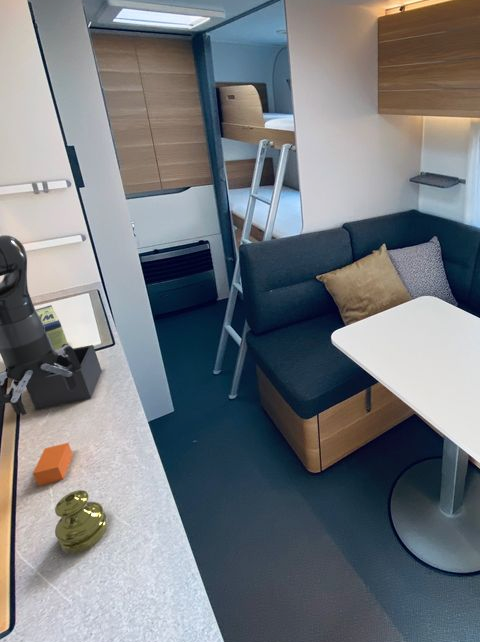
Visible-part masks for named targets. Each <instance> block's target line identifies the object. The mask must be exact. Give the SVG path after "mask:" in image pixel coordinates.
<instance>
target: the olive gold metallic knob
mask: <svg viewBox="0 0 480 642" xmlns="http://www.w3.org/2000/svg"><path fill="white" fill-rule="evenodd" d="M54 513H55V515H56V516H58V517H60V519H59V520H58V521H57V524H56V525H55V528H54V535H55V538H56V540H58V544H59V545H60V547H61V549H62V551H63V552H64V553H66V554H69V555H70V554H71V555H75V554H79V553H82V552H85V551H87V550H89V549H90V548H92V547H93V546H95V545H96V544H97V543H98V542H99V541H100V540H101V539H102V538H103V537H104V535H105V534H106V532H107V530H108V526H109V522H108V519H107V516H106V513H105V512H104V508H103V506H102V504H101V503H99V502H98V501H92V500H91V501H90V500H89V493H88V492H87V491H86V490H83V489H78V490H74V491H71V492H69V493H67V494H65V495H64V496H63V497H62V498H61V499H59V501H58V502H57V503H56V505H55V507H54Z"/></svg>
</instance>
